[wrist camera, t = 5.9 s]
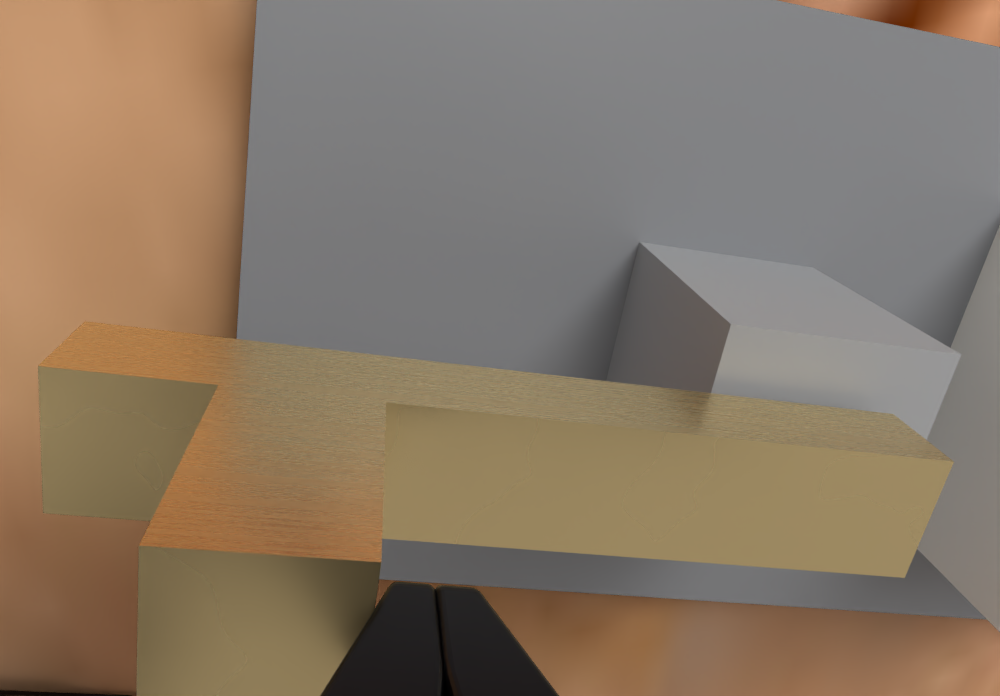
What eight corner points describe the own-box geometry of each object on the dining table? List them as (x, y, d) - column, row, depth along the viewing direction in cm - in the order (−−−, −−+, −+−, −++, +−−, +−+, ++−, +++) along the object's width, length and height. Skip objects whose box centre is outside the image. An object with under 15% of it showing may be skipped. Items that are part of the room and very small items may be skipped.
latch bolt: (852, 520, 13) (1069, 757, 9) (86, 453, 11) (-107, 719, 7) (893, 414, 13) (1150, 616, 8) (84, 321, 11) (-130, 526, 6)
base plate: (1072, 603, 24) (1277, 780, 18) (230, 543, 19) (165, 748, 14) (1325, 119, 19) (1713, 160, 13) (272, -99, 15) (195, -174, 9)
